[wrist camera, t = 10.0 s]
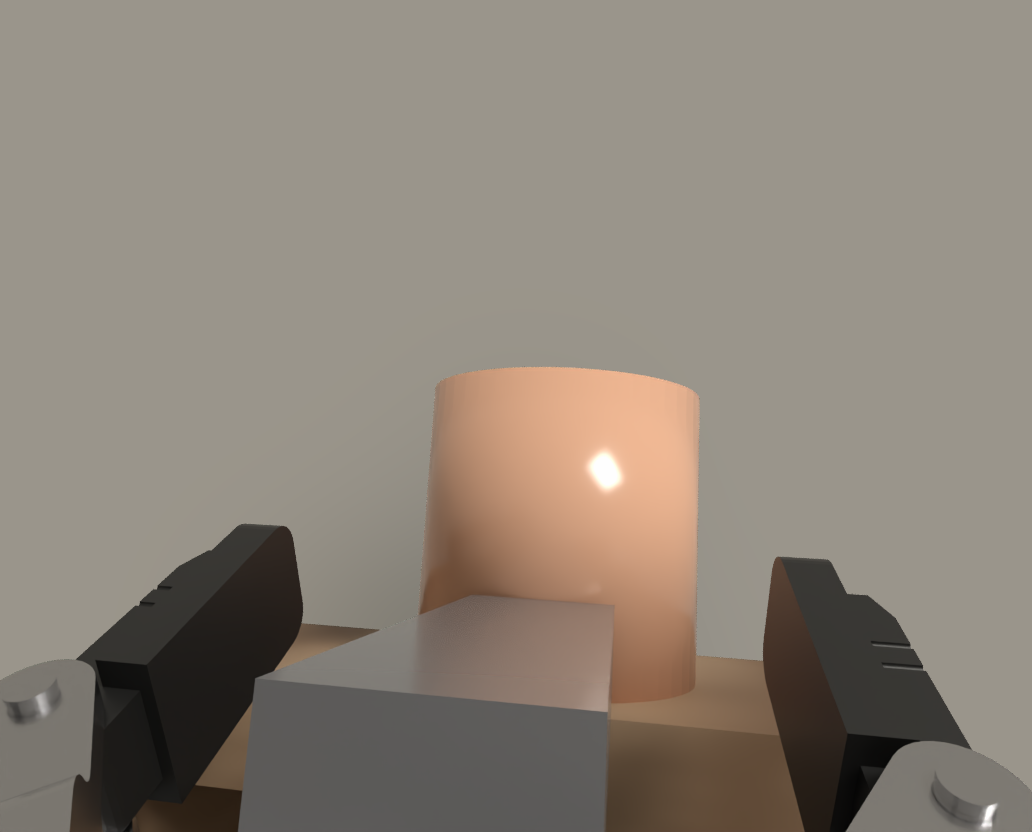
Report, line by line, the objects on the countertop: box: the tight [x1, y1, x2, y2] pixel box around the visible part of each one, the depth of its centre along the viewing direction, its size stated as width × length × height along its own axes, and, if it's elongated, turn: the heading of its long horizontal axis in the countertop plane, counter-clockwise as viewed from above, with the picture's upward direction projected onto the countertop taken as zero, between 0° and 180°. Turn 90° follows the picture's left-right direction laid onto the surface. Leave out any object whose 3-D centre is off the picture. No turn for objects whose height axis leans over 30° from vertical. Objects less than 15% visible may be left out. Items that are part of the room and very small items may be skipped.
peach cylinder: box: [238, 367, 699, 832], centre depth 14 cm, size 7×16×7 cm, turn 172°
